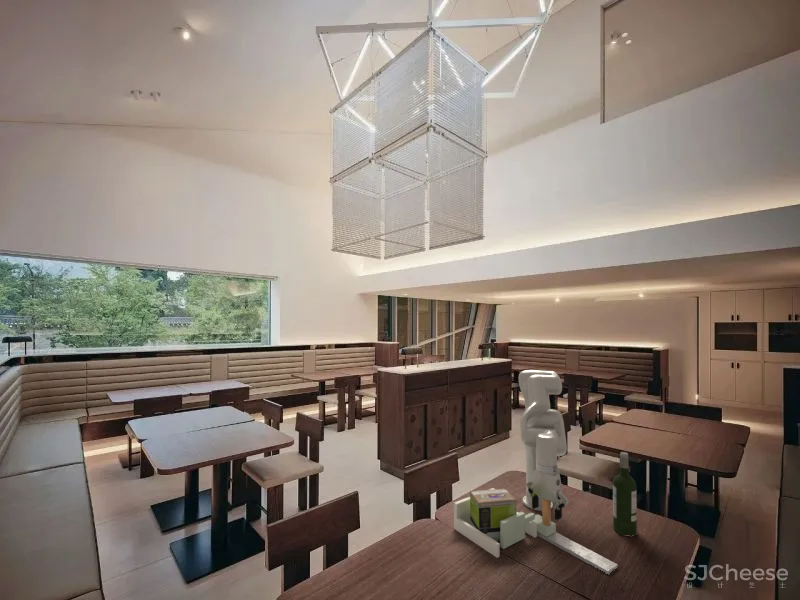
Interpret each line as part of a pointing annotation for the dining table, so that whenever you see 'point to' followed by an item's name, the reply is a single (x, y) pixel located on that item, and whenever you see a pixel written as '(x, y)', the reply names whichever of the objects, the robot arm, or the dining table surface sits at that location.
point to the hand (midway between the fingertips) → (546, 513)
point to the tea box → (491, 510)
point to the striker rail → (580, 552)
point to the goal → (474, 534)
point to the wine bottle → (624, 500)
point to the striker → (515, 525)
